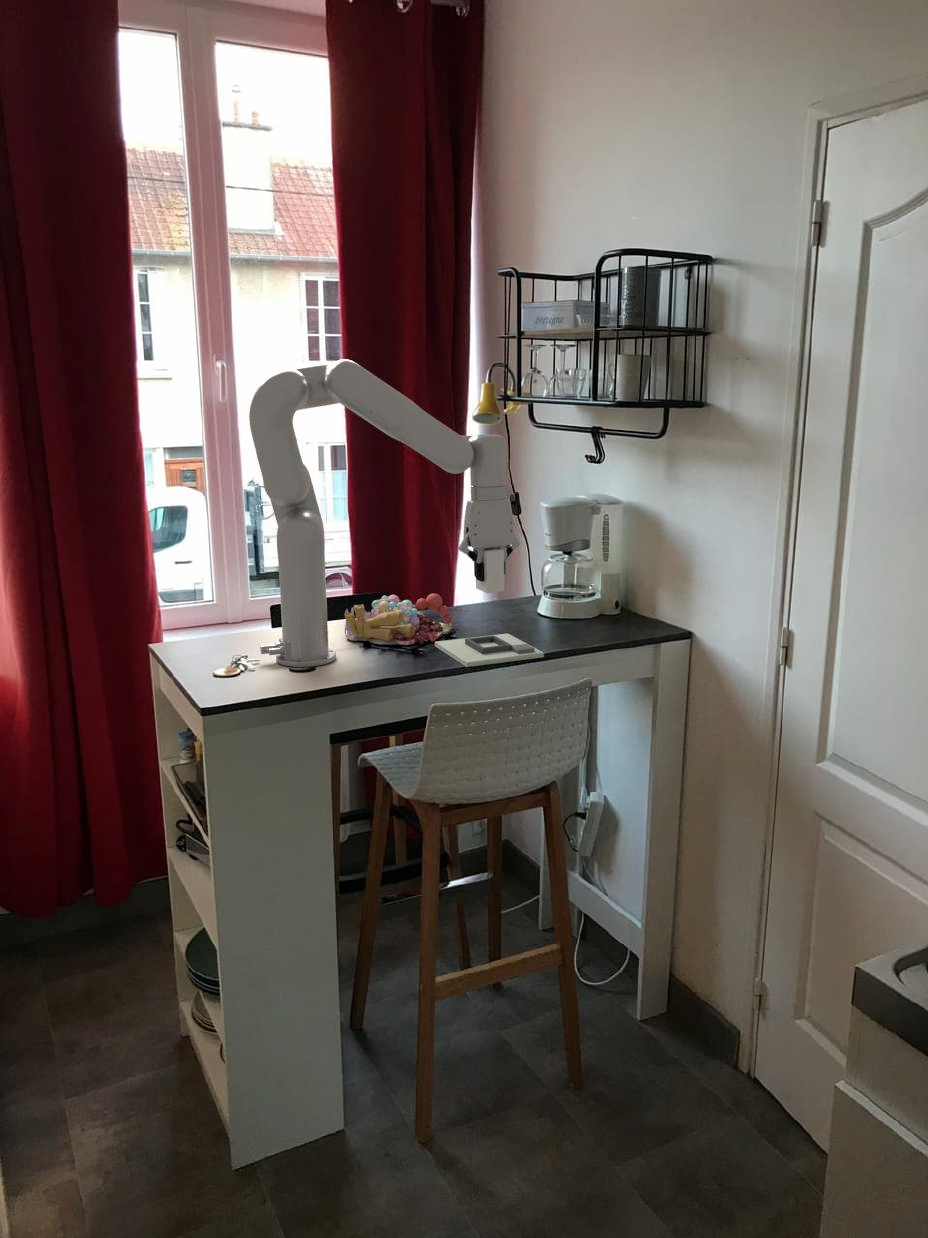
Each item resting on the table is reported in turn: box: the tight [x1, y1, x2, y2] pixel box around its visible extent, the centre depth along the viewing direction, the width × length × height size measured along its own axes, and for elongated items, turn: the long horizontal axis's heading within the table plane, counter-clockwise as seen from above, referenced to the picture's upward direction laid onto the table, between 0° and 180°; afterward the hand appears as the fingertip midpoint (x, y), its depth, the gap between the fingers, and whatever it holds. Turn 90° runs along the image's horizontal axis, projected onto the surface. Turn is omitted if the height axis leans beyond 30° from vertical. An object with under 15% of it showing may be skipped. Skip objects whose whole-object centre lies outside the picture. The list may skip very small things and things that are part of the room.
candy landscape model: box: [343, 593, 452, 646], centre depth 228 cm, size 25×24×9 cm
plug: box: [475, 548, 505, 594], centre depth 208 cm, size 6×4×11 cm, turn 23°
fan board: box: [434, 633, 545, 668], centre depth 212 cm, size 18×18×2 cm
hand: (490, 578), depth 209 cm, fingers closed on plug, 4 cm apart
